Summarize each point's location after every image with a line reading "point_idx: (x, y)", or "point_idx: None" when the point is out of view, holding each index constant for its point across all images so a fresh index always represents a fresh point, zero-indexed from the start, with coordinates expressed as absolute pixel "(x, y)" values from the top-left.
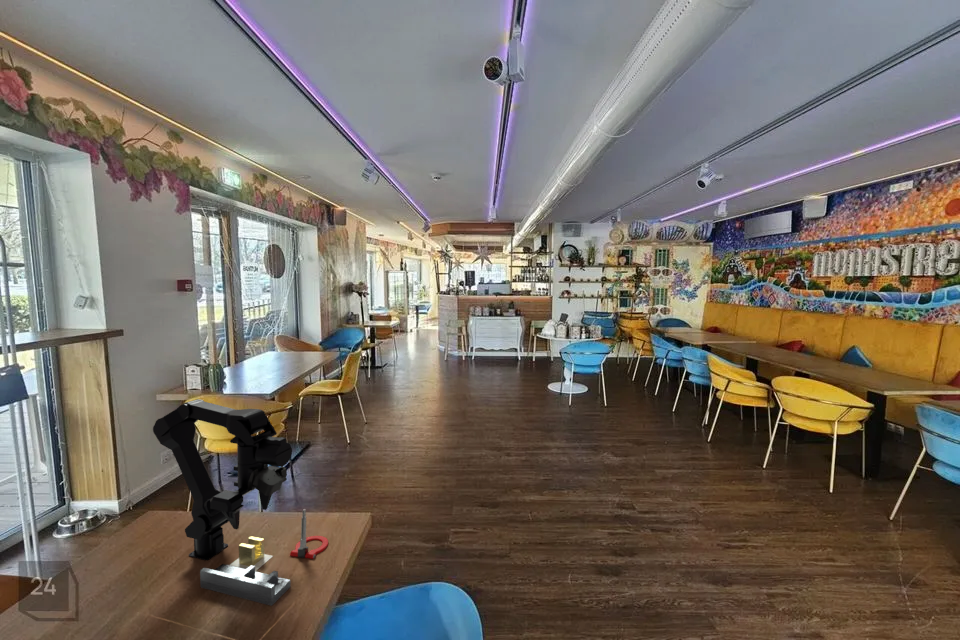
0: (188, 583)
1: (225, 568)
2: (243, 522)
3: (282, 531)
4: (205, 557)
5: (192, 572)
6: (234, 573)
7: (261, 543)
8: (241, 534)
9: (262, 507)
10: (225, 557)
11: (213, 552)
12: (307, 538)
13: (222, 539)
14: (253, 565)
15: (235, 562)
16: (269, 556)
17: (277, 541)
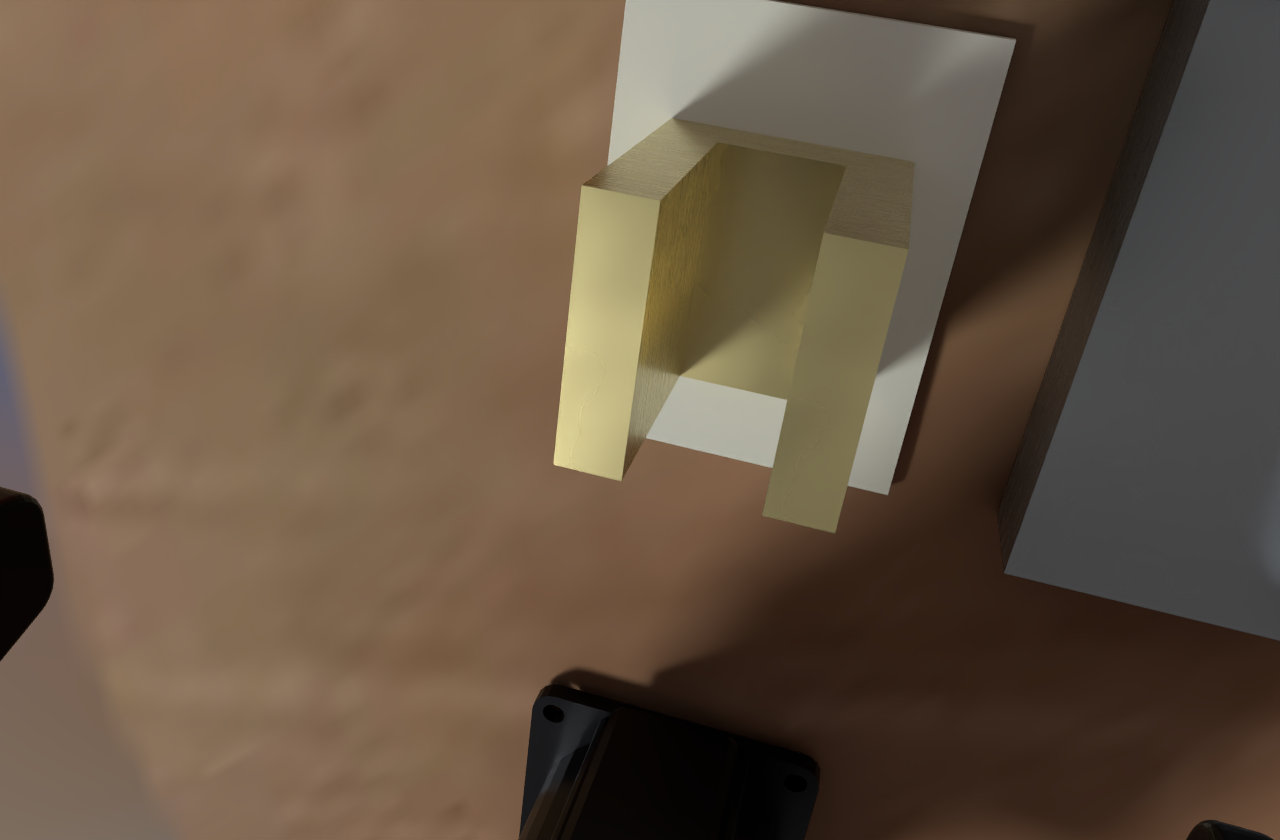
0: (1221, 761)
1: (1117, 481)
2: (165, 724)
3: (122, 209)
4: (790, 805)
5: (1016, 807)
6: (1261, 278)
7: (662, 183)
8: (331, 650)
9: (7, 636)
10: (729, 614)
11: (732, 775)
12: None
13: (602, 807)
14: (885, 157)
15: None
16: (648, 38)
17: (311, 148)
